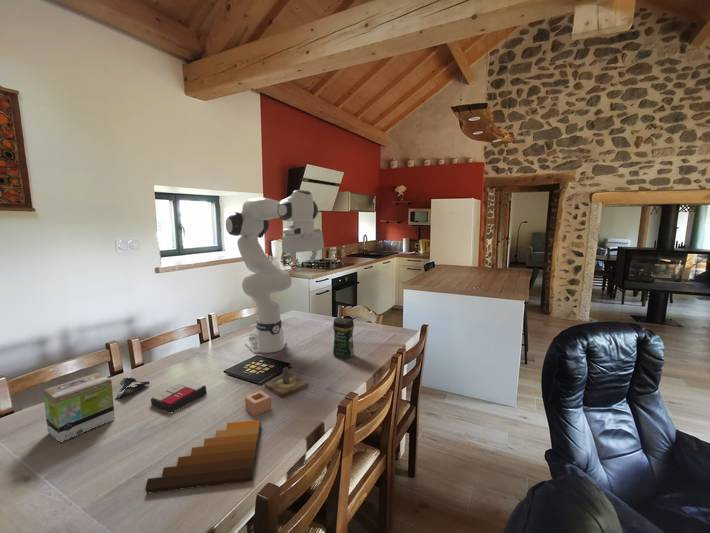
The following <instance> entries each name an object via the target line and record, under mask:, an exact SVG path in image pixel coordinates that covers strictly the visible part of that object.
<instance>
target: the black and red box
mask: <svg viewBox="0 0 710 533" xmlns="http://www.w3.org/2000/svg"><path fill="white" fill-rule="evenodd" d="M205 394H206V395H207V394H208V392H207V386H206V385H204V384H201V383H198V382H196V381H193V380H189V379H185V380H183V381H181V382H178V384H177V383H176V384H175V385H173V386H170V387H169V388H167V389H166V390H163V391H161V392H160V393H158V394H156V395H154V396H152V398H150V404H151V406H152V405H153V406H152V407H154V406H155V407H154V408H156V407H157V408H156V409H159V408H160V409H159V410H161V409H162V411H164V410H165V411H164V412H166V411H167V412H166V413H169V412H170V413H169V414H172V413H171V412H173V413H174V411H175V410H176V411H178V410H180V409H182V408H184V407H186V406H187V405H189V404H190V402H191V403H192V402H194V401H196V400H198V398H199V399H200V398H202V397H204V396H205ZM188 403H189V404H188ZM186 404H187V405H186ZM185 405H186V406H185ZM183 406H184V407H183ZM181 407H182V408H181ZM179 408H180V409H179ZM177 409H178V410H177ZM176 411H175V412H176Z"/></svg>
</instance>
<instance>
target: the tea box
mask: <svg viewBox="0 0 710 533" xmlns="http://www.w3.org/2000/svg"><path fill="white" fill-rule="evenodd" d="M42 392H43V400H44V401H43V402H44V410H45V411H44V412H45V413H44V414H45V420H46V421H45V422H46V429H47V433H48V432H49V433H50V434H52V435H53V436H54V437H55V438H57V439H58V440H59V441H60V442H62V441H64V440H66V441H68V440H70V439H69V438H71V437H73V438H75V437H77V436H79V435H78V434H80V435H82V434H84V433H83V432H85V431H87V430H89V431H91V430H90V429H92V428H94V427H96V428H98V427H97V426H99V425H101V424H103V423H106V422H108V421H110V420H113V419H114V420H115V418H116V417H115V404H114V396H113V383H112V379H111V378H109V377H108V376H106V375H103V374H101V373H99V372H96V373H91V374H88V375H85V376H82V377H79V378H76V379H73V380H70V381H67V382H64V383H61V384H57V385H54V386H51V387H48V388H45V389H43V390H42ZM114 420H113V421H114ZM106 424H107V423H106ZM101 426H102V425H101ZM99 427H100V426H99ZM94 429H95V428H94ZM92 430H93V429H92ZM87 432H88V431H87ZM49 433H48V434H49ZM81 433H82V434H81ZM85 433H86V432H85ZM50 434H49V435H50ZM76 435H77V436H76ZM53 436H52V437H53ZM74 436H75V437H74ZM54 437H53V438H54ZM55 438H54V439H55ZM67 439H68V440H67ZM71 439H72V438H71ZM60 442H59V443H60ZM64 442H65V441H64ZM62 443H63V442H62Z"/></svg>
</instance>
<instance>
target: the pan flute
mask: <svg viewBox="0 0 710 533" xmlns="http://www.w3.org/2000/svg"><path fill="white" fill-rule="evenodd" d="M261 426H262V424H261V420H260V419H259V420H258V419H256V420H244V421H235V422H227V423H226V429H218V430H215V436H214V437H209V438H208V437H207V438H204V441H203V446H196V447H191V451H190V455H187V456H179V457H177V458H178V459H177V463H176V466H166V467H163V470H162V475H161V476H160V477H151V478H147V480H146V484H145V487H144V488H145V489H144V490H145V492H146V494H150V493H149V492H152V493H159V492H158V491H160V492H165V491H166V492H167V491H168V490H169V491H175V489H177V490H182V489H181V488H185V489H189V488H188V487H194V488H198V487H197V486H202V487H205V486H204V485H210V486H218V484H219V485H225V484H224V483H227V484H233V483H242V482H243V483H244V482H251V481H253V477H254V470H255V464H256V463H255V462H256V458H257V452H258V444H259V439H260V433H261ZM256 451H257V452H256ZM216 484H217V485H216Z"/></svg>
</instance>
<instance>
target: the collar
mask: <svg viewBox="0 0 710 533" xmlns="http://www.w3.org/2000/svg"><path fill="white" fill-rule="evenodd" d="M244 404H245V409H246V410H247V411H248V412H249V413H251V414H252V415H253V416H257V415H259V414H262V413H264V412H266V411H269V410H271V409H272V396H270V395H269V394H267V393H266V392H264V391H263V390H258V391H256V392H253V393H251V394H249V395H246V396H244Z"/></svg>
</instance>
